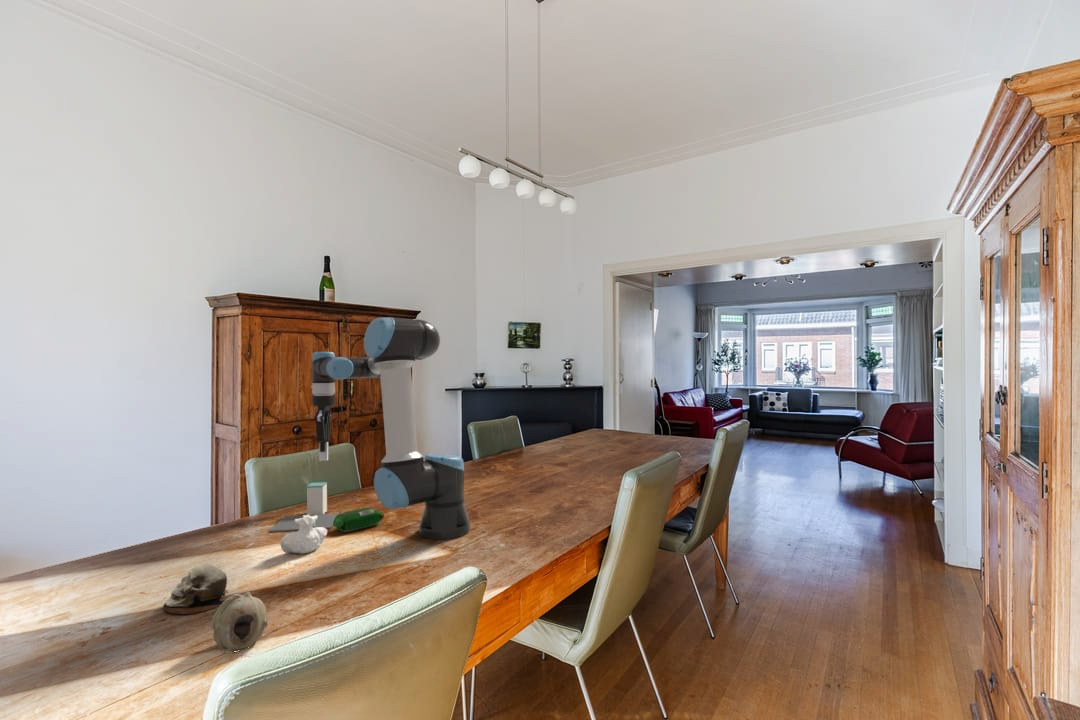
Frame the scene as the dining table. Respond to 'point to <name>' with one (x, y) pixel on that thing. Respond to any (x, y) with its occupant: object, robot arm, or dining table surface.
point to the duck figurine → (304, 536)
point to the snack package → (357, 519)
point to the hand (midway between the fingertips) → (323, 460)
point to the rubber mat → (291, 525)
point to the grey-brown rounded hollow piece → (239, 622)
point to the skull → (198, 591)
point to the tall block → (317, 498)
